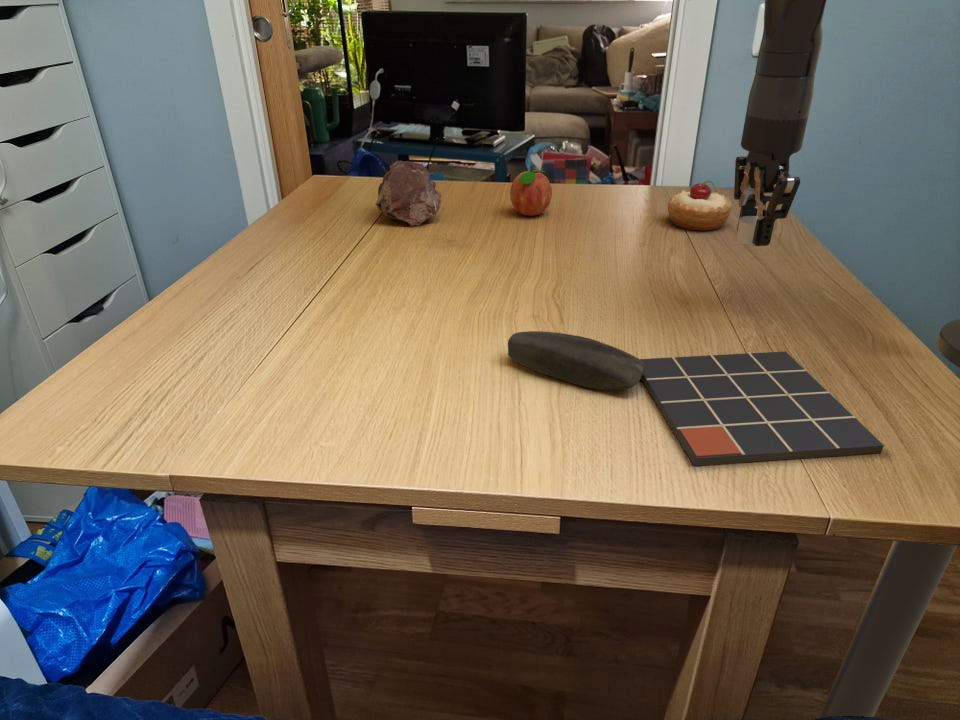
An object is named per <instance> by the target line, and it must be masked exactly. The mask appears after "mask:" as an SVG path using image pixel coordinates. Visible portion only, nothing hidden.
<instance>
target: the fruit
mask: <svg viewBox="0 0 960 720" xmlns="http://www.w3.org/2000/svg"><path fill="white" fill-rule="evenodd" d="M545 174H546V175H547V174H548V172H547V171H544V170H539V169H534V165H533V164H531V165H530V170H526V171H522V172H520V173H519V174H518V175H517V176H516V177H515V178H514V179H513V182H512V184H511V185H510V186H511V187H510V190H509V197H510V198H509V199H510V202H511V204H512V206H513V209H515V210H516V212H518V214H520V215H523V216H531V217H532V216H539V215H541V214H543V213H544V212H545V211H546V210H547V209H548V207H549V206H550V204H551V201H552V197H553V189H552V185H551V182H550V180H549V179H548V177H547V176H546V175H545Z"/></svg>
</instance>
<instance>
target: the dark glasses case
mask: <svg viewBox="0 0 960 720" xmlns="http://www.w3.org/2000/svg"><path fill="white" fill-rule="evenodd" d="M507 355H508V357H509V358H510V359H511V360H513V361H515V362H516V363H518V364H520V365H522V366H525V367H527V368H529V369H531V370H534V371H536V372H539V373H541V374H545V375H546V376H549V377H552V378H555V379H558V380H561V381H563V382H567V383H570V384H573V385H576V386H581V387H583V388H588V389H594V390H601V391H602V390H603V391H621V390H629V389H631V388H633V387H634V386H636V385H637V384H638V383H639V382H640V380H641V377H642V374H643V371H644V367H645V363H644V362H643V361H642V360H640V359H641V358H639V357H637V356H635V355H633V354H631V353H629V352H626V351H624V350H623V349H619V348H617V347H615V346H613V345H609V344H606V343H604V342H601V341H599V340H596V339H593V338H589V337H584V336H580V335H574V334H571V333H570V334H569V333H564V332H555V331H540V330H539V331H536V330H533V331H532V330H531V331H530V330H529V331H518V332H515V333H512V334H511V335H510V337H509V338H508V340H507Z"/></svg>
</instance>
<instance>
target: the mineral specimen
mask: <svg viewBox="0 0 960 720" xmlns="http://www.w3.org/2000/svg"><path fill="white" fill-rule="evenodd" d="M436 187H437V183H436V182H435V181H433V180H432V179H431V178H430V172H429V170H428V168H426V167H425V164H423V163H419V162H414V161H411V162H410V161H409V160H405V161H404V160H397V161H396V163H395V164H391V165H390V167H389V170H388V171H386V172H385V174H384V175H383V178H382V182H381V183H379V185H378V190H377V195H378V196H377V200H376V201H375V204H374V205H375V206H376V207H377V209H378V210H379V211H380V212H381V213H382V214H384V215H385V216H386V217H387V218H389V219H393V220H399V221H403V222H406V223H407V224H408V225H410V226H413V227H414V226H417V227H420V226H421V225H422V223H423V222H425V221H426V220H427V219H430V218H433V217H435V216H436V214H437V213H439V211H440V208H441V206H440V204H441V203H442V200H441V198H442V193H441V192H440V191H438V190H437V189H436Z"/></svg>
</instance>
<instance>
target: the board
mask: <svg viewBox="0 0 960 720" xmlns="http://www.w3.org/2000/svg"><path fill="white" fill-rule="evenodd" d="M639 359H640V360H642V361H643V362H644V363H645V367H644V371H643V374H642V377H641V379H640V380H641V382H642V384H643V385H644V386H645V388H646V390H647V392H648V393H649V395H650V396H651V398H652V400H653V402H654V403H655V404H656V406H657V408H658V410H659V412H660V413H661V414H662V416H663V418H664V419H665V422H666V423H667V425H668V426H669V428H670V429H671V431H672V433H673V434H674V436H675V437H676V439H677V440H678V443H679V444H680V446H681V448H682V449H683V451H684V452H685V454H686V456H687V457H688V459H689V461H690V462H691V464H692V465H693V466H694V467H696V466H697V467H699V466H710V465H711V466H712V465H723V464H724V465H725V464H726V465H727V464H739V463H753V462H755V463H756V462H768V461H783V460H795V459H797V460H798V459H813V458H826V457H827V458H828V457H840V456H841V457H842V456H843V457H844V456H856V455H869V454H881V453H882V452H883V449H884V447H885V445H884V443H882V442H881V441H880V440H879V439H878V438H877V437H876V436H875V435H874V434H873V433H872V432H871V431H870V430H869V429H868V428H867V427H865V425H864V424H862V422H860V421H859V420H858V419H857V417H856V415H853V414H852V413H851V412H850V411H849V410H848V409H846V408H845V406H844V405H842V403H840V402H839V401H838V400H837V399H836V398H835V396H833V395H832V394H831V392H830V391H828V390H827V389H826V388H825V387H824V386H822V385H821V383H820V382H818V381H817V379H815V378H814V377H813V376H812V375H811V374H810V373H809V372H808V370H807V369H805V368H804V367H802V365H801V364H799V363H798V362H797V361H796V359H794V358H793V357H792V356H791V355H790V354H789V353H788V352H787V351H783V350H782V351H767V352H766V351H765V352H751V351H750V352H749V351H748V352H747V353H731V354H712V353H710V354H709V355H692V356H670V357H656V358H639Z"/></svg>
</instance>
